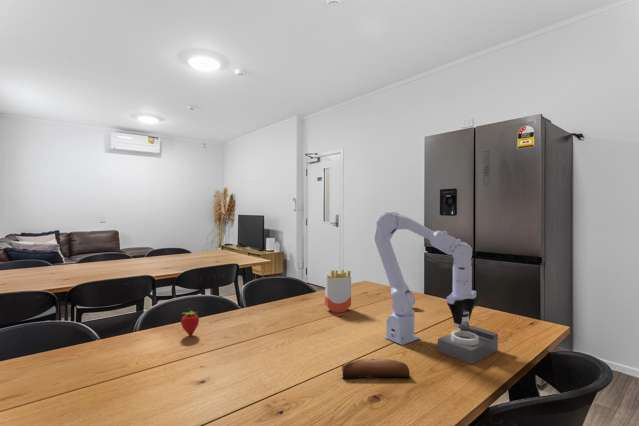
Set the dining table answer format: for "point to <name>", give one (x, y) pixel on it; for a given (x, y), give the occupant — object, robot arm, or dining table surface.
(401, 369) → the sunglasses case
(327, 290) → the french fries container
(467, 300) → the robot arm
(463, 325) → the lens
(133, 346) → the dining table surface
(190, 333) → the strawberry
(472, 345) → the camera body
